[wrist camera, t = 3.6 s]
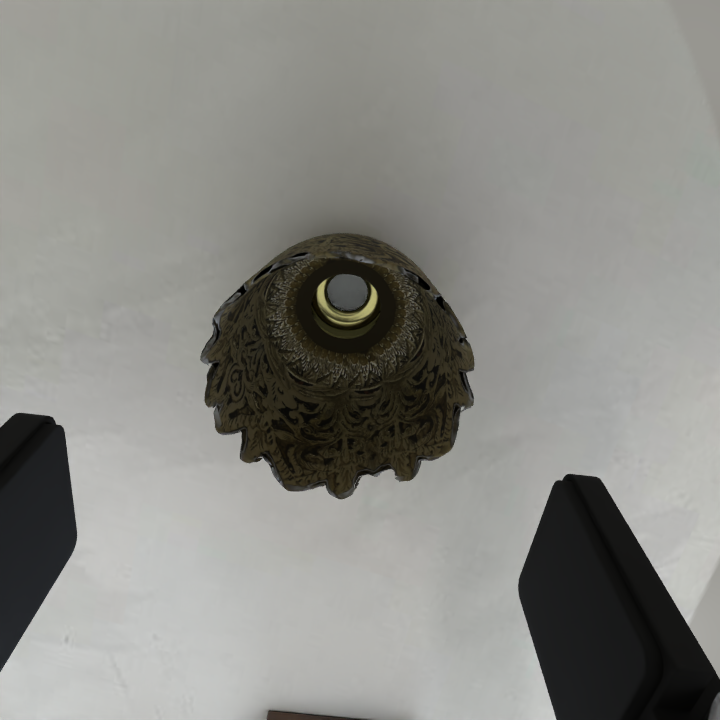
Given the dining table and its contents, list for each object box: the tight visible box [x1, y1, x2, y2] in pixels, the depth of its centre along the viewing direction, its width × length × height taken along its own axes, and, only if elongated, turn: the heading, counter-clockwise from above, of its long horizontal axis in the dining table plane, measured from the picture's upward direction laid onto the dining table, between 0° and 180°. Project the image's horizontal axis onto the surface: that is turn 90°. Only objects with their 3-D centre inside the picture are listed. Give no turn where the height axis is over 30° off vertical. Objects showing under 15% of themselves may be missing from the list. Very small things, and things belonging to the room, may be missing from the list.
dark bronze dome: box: [200, 234, 474, 499], centre depth 19 cm, size 8×7×8 cm
